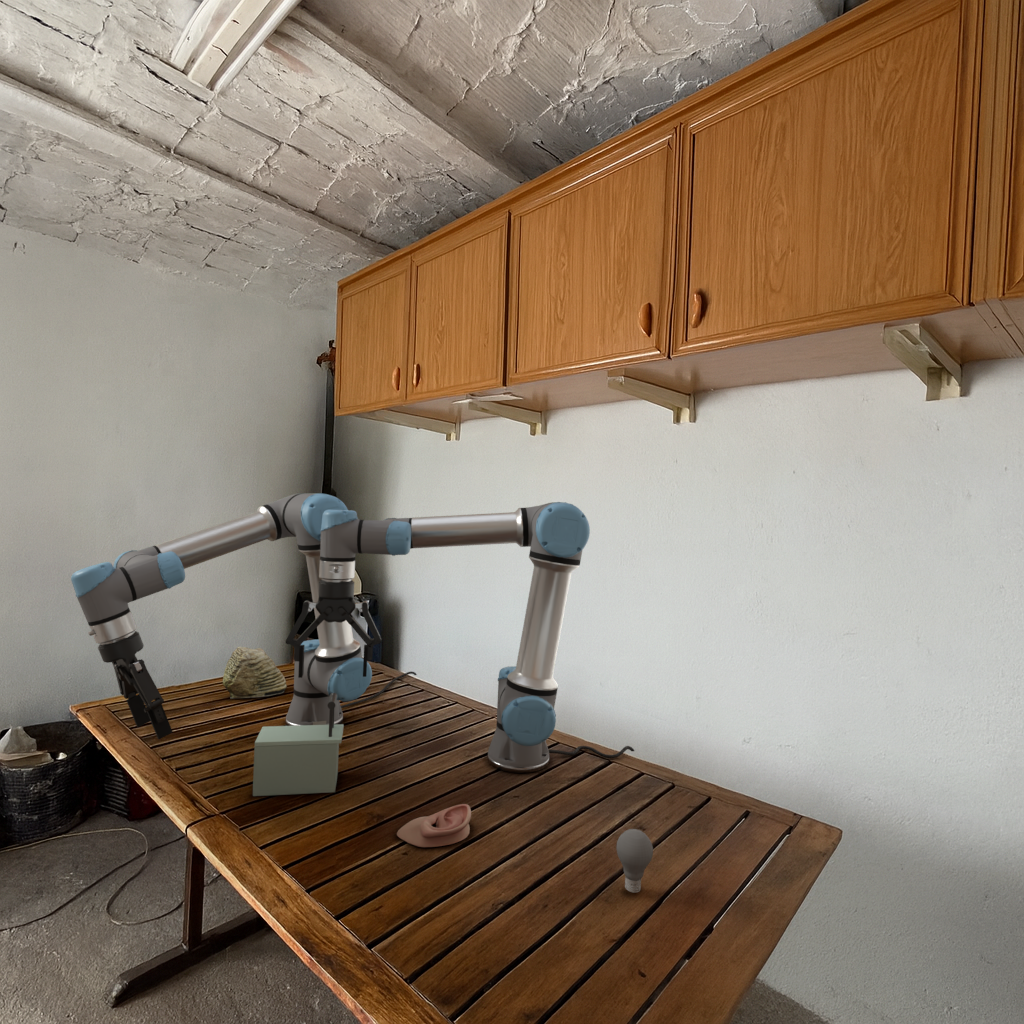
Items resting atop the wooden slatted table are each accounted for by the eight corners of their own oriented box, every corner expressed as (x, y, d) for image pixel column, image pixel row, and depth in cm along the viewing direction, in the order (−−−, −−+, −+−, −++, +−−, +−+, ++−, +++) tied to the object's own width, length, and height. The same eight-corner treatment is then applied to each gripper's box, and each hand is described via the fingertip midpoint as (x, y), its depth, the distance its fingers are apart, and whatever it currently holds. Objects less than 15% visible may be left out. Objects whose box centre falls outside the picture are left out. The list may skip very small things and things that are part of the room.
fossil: (218, 695, 195) (220, 647, 195) (278, 685, 208) (279, 640, 207) (228, 703, 189) (230, 653, 188) (289, 692, 201) (290, 645, 201)
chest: (337, 773, 145) (339, 728, 145) (335, 792, 136) (336, 743, 136) (260, 777, 142) (262, 730, 142) (252, 796, 133) (254, 746, 132)
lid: (343, 727, 145) (345, 690, 145) (341, 743, 136) (342, 703, 136) (262, 730, 142) (263, 691, 141) (254, 746, 132) (256, 705, 132)
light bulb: (610, 879, 108) (613, 822, 108) (644, 879, 109) (647, 822, 109) (619, 902, 102) (622, 840, 102) (655, 901, 103) (658, 840, 103)
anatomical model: (391, 821, 117) (413, 793, 128) (390, 842, 117) (412, 813, 128) (460, 832, 114) (476, 802, 125) (459, 853, 114) (475, 822, 126)
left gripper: (81, 640, 136) (118, 728, 140) (115, 651, 118) (155, 751, 122) (119, 625, 141) (153, 710, 145) (156, 634, 124) (194, 730, 128)
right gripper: (274, 581, 133) (270, 681, 134) (394, 582, 138) (390, 679, 139) (279, 576, 141) (276, 671, 141) (394, 578, 146) (390, 670, 146)
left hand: (154, 729), depth 134 cm, fingers open, 13 cm apart
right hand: (333, 675), depth 140 cm, fingers open, 13 cm apart
